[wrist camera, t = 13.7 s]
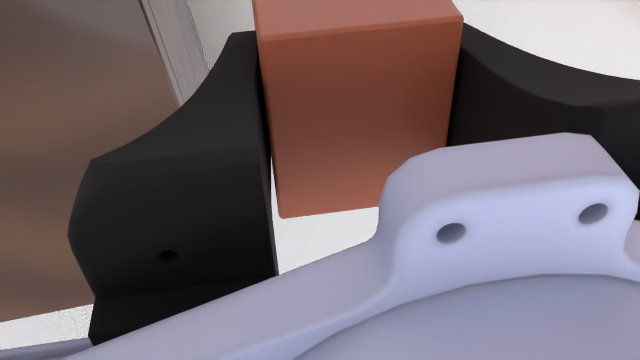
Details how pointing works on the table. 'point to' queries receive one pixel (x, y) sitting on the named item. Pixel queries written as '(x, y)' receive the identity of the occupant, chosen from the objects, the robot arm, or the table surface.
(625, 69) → the table surface
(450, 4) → the block
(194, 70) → the cabinet
